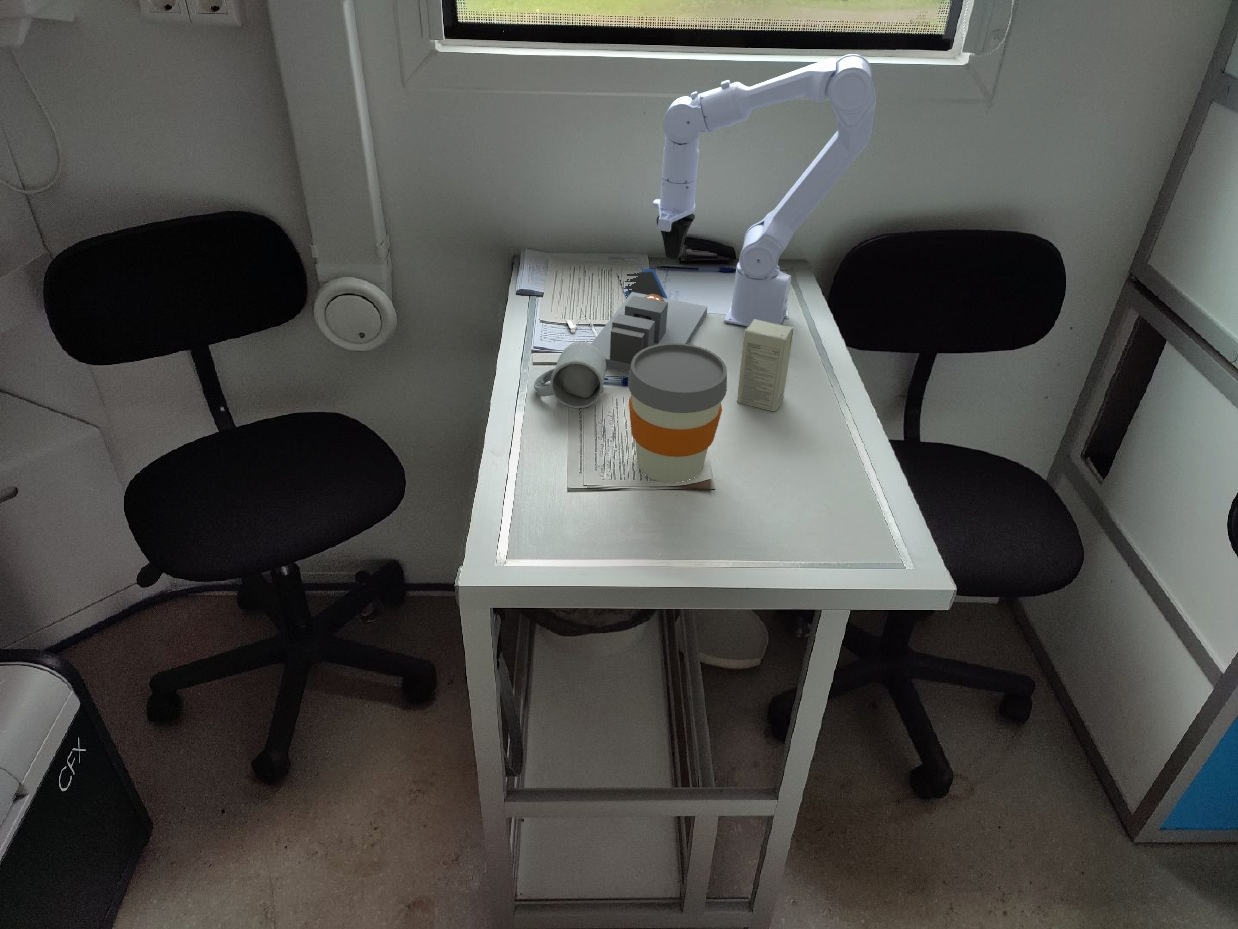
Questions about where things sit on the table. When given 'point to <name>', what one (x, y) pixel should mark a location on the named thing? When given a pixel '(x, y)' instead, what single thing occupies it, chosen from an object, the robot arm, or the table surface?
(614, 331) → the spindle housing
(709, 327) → the table surface
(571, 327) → the picture light
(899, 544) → the table surface
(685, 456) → the reusable coffee cup
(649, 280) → the cell phone
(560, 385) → the ceramic mug
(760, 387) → the skincare box
